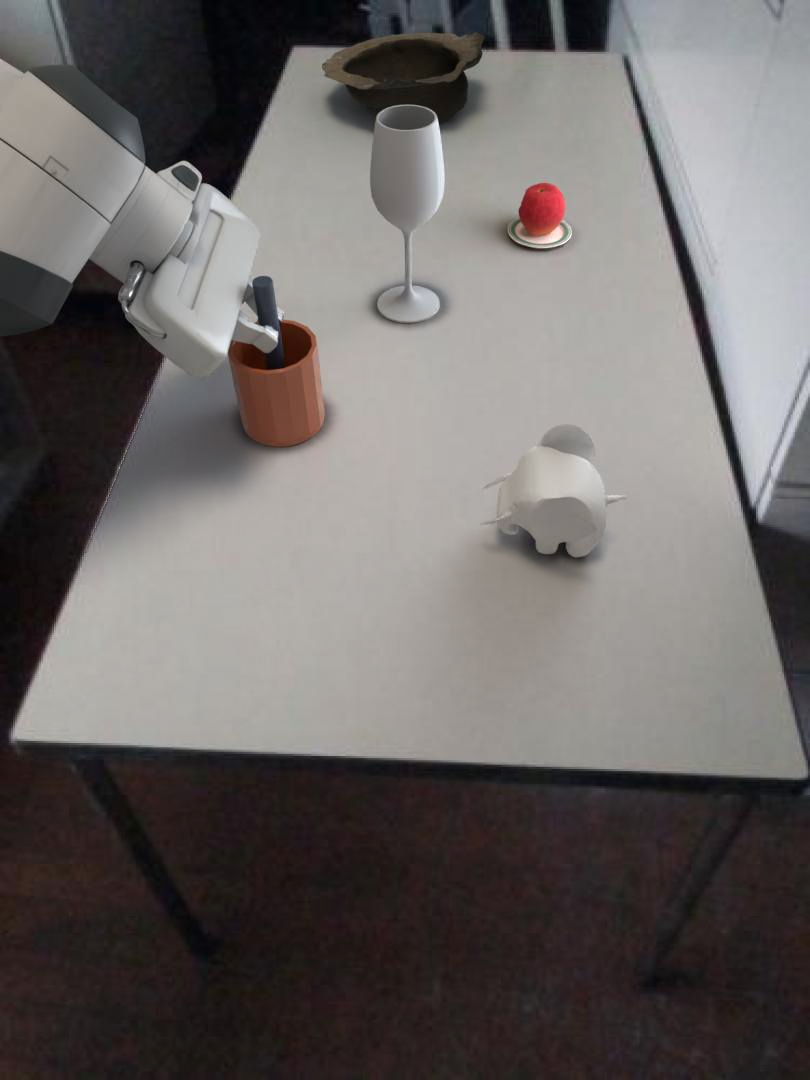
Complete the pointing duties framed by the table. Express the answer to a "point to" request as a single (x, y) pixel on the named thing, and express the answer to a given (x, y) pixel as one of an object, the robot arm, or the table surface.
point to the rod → (268, 318)
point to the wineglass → (407, 194)
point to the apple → (541, 218)
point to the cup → (279, 388)
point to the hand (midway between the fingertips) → (277, 333)
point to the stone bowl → (408, 70)
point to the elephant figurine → (555, 494)
